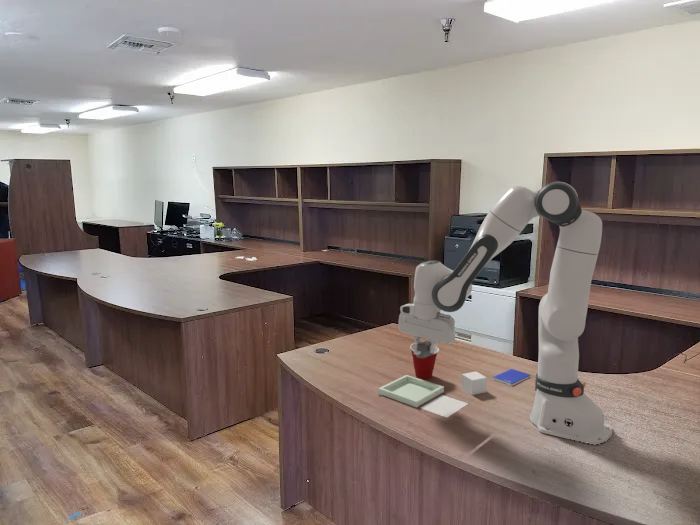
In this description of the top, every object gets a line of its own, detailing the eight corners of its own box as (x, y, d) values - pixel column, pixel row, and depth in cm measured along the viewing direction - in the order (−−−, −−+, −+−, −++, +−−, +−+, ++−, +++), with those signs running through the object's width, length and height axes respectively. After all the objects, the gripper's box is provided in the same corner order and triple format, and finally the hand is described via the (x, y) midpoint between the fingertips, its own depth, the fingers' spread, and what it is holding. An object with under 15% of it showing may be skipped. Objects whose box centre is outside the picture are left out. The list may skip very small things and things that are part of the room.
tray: (443, 393, 171) (443, 386, 171) (416, 409, 160) (416, 401, 160) (406, 381, 182) (406, 374, 182) (378, 395, 171) (378, 388, 170)
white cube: (486, 394, 171) (486, 377, 170) (471, 397, 169) (472, 380, 168) (475, 387, 176) (476, 371, 175) (461, 390, 174) (461, 373, 173)
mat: (468, 405, 162) (468, 403, 162) (446, 419, 153) (446, 417, 153) (442, 396, 169) (442, 394, 169) (420, 409, 160) (420, 407, 160)
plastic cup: (430, 386, 178) (430, 354, 176) (404, 379, 184) (404, 348, 182) (444, 376, 186) (444, 345, 184) (418, 369, 193) (419, 340, 191)
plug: (427, 351, 168) (428, 339, 167) (435, 353, 166) (435, 341, 165) (411, 358, 161) (411, 346, 161) (419, 360, 159) (419, 348, 159)
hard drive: (511, 383, 177) (530, 374, 184) (491, 376, 183) (510, 368, 191) (511, 387, 177) (530, 378, 185) (491, 380, 183) (510, 372, 191)
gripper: (459, 314, 157) (457, 355, 159) (407, 302, 171) (406, 341, 173) (449, 318, 153) (447, 361, 155) (396, 306, 166) (395, 345, 169)
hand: (425, 350), depth 164 cm, fingers closed on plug, 3 cm apart
